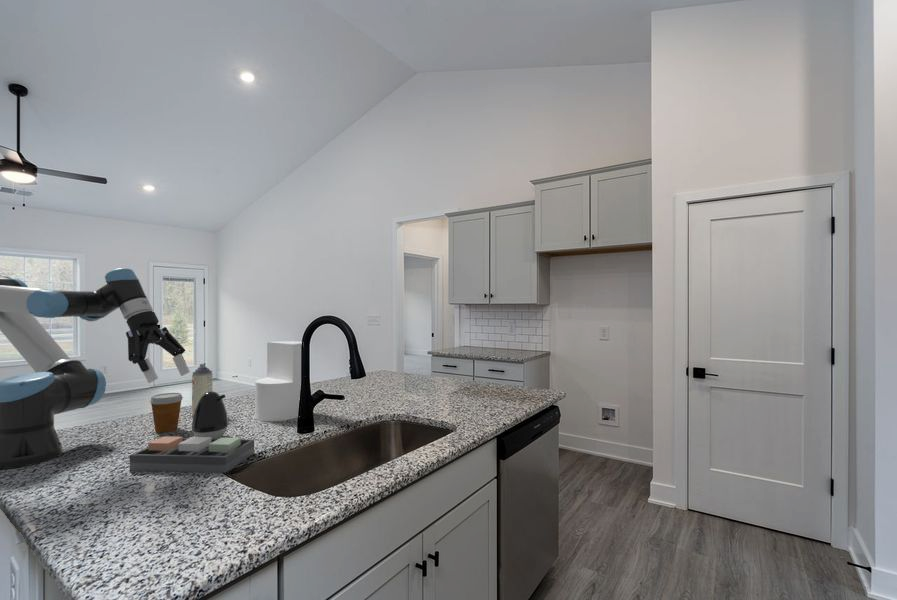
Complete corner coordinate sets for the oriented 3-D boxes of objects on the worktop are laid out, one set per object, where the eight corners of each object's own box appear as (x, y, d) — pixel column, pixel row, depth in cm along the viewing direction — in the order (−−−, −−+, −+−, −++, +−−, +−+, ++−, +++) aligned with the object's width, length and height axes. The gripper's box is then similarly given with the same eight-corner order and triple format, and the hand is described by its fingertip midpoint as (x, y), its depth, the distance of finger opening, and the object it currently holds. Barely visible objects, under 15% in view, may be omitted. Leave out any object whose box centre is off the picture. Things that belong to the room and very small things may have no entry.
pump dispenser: (212, 445, 130) (212, 395, 130) (183, 443, 132) (183, 394, 132) (235, 434, 139) (235, 388, 140) (208, 433, 142) (208, 387, 142)
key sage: (208, 451, 113) (208, 444, 113) (221, 444, 119) (221, 437, 119) (228, 452, 113) (228, 444, 113) (240, 444, 118) (240, 437, 118)
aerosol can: (196, 413, 167) (196, 363, 167) (215, 412, 168) (215, 362, 168) (189, 418, 160) (189, 365, 160) (208, 417, 161) (208, 365, 161)
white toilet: (286, 407, 176) (286, 340, 176) (312, 413, 166) (312, 342, 166) (246, 416, 162) (246, 343, 162) (271, 424, 152) (271, 346, 152)
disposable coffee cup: (143, 432, 142) (143, 397, 142) (170, 425, 151) (170, 391, 151) (161, 435, 139) (162, 399, 139) (189, 427, 148) (189, 393, 148)
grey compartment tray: (129, 470, 110) (129, 455, 110) (168, 451, 124) (168, 437, 124) (225, 472, 108) (225, 457, 108) (254, 453, 122) (254, 439, 122)
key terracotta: (148, 450, 114) (148, 443, 114) (163, 443, 120) (163, 436, 120) (168, 450, 114) (168, 443, 114) (182, 443, 119) (182, 436, 119)
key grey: (178, 451, 113) (178, 443, 113) (192, 444, 119) (192, 436, 119) (198, 451, 113) (198, 443, 113) (211, 444, 119) (211, 437, 119)
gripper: (115, 309, 117) (149, 377, 115) (178, 310, 142) (206, 366, 140) (92, 322, 117) (126, 390, 116) (159, 320, 142) (187, 376, 141)
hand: (170, 377), depth 128 cm, fingers open, 13 cm apart
